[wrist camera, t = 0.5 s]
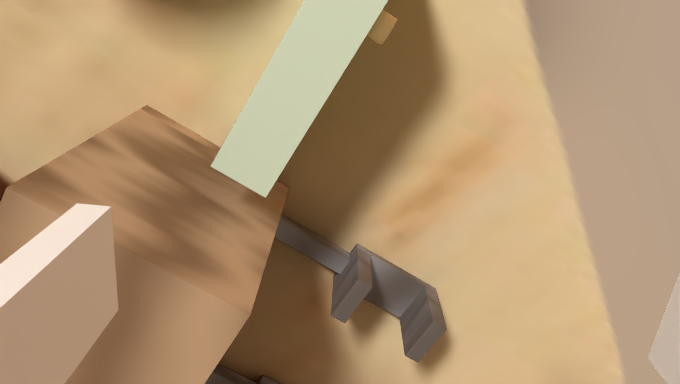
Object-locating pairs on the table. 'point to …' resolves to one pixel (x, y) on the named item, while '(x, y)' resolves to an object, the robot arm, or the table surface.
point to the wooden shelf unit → (192, 253)
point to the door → (297, 86)
